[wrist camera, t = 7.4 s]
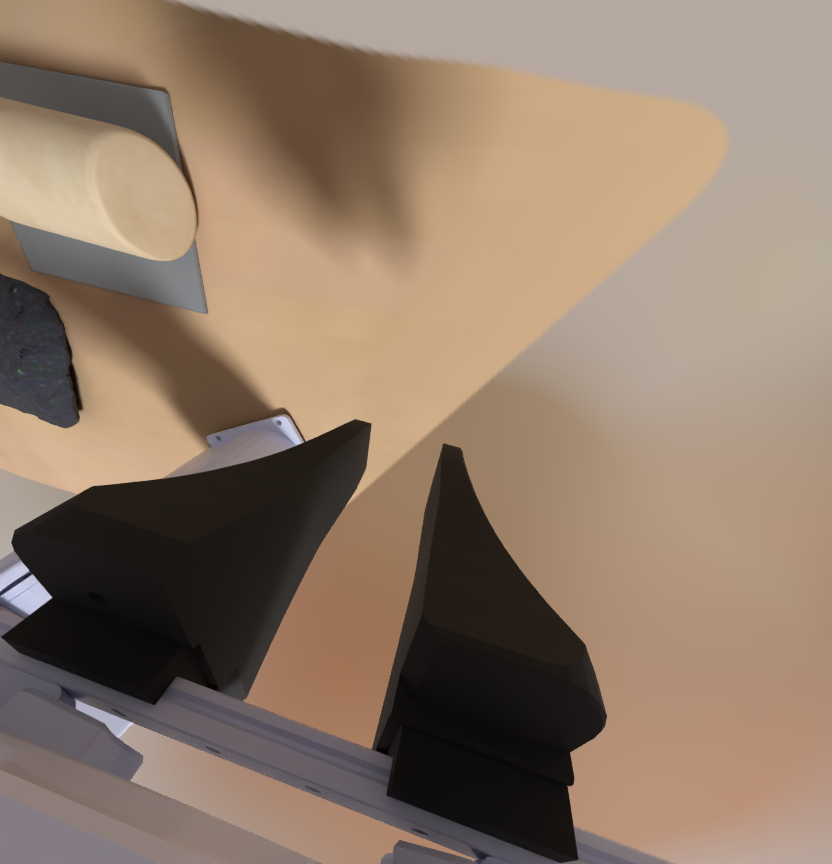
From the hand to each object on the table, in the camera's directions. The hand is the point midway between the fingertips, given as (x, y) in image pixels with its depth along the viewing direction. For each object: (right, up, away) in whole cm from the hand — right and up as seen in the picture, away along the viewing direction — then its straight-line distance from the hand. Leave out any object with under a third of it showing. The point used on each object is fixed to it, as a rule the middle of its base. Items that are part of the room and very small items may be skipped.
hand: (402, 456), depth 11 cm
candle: (-13, +13, +5) cm, 19 cm away
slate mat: (-20, +16, +8) cm, 27 cm away
